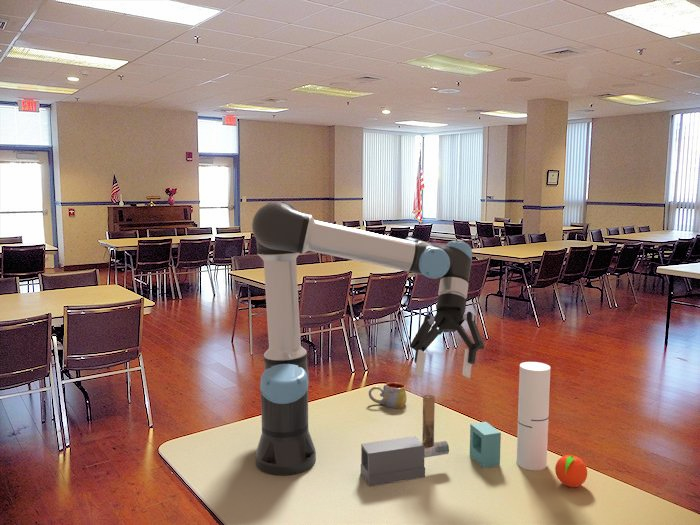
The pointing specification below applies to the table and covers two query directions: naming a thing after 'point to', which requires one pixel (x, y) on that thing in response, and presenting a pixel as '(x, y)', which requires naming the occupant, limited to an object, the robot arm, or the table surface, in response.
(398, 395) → the mug
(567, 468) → the clementine
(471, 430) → the end socket
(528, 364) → the cylindrical container
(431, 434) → the sliding bolt
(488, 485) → the table surface
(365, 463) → the outer sleeve
